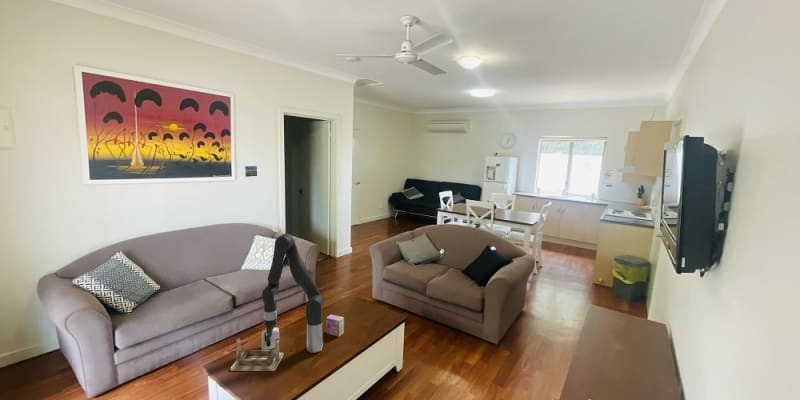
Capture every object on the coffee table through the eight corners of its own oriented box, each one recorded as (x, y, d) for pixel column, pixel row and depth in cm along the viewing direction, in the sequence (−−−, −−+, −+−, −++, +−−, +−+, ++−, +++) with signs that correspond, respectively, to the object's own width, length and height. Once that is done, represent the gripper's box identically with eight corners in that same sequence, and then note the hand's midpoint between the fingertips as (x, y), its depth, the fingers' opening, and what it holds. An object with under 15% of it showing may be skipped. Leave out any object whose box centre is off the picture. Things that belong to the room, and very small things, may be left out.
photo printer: (278, 343, 205) (278, 325, 204) (279, 347, 201) (279, 328, 200) (260, 348, 199) (260, 329, 198) (262, 351, 196) (262, 332, 195)
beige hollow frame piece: (283, 354, 194) (283, 332, 192) (275, 370, 179) (275, 346, 177) (242, 354, 192) (241, 332, 191) (230, 370, 177) (229, 346, 176)
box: (326, 334, 219) (326, 317, 217) (330, 330, 224) (331, 314, 223) (339, 337, 215) (339, 320, 214) (343, 333, 220) (344, 317, 219)
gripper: (272, 322, 191) (272, 349, 193) (280, 311, 206) (280, 337, 208) (259, 322, 191) (259, 349, 193) (268, 311, 205) (268, 336, 207)
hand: (270, 343), depth 200 cm, fingers closed on photo printer, 6 cm apart
